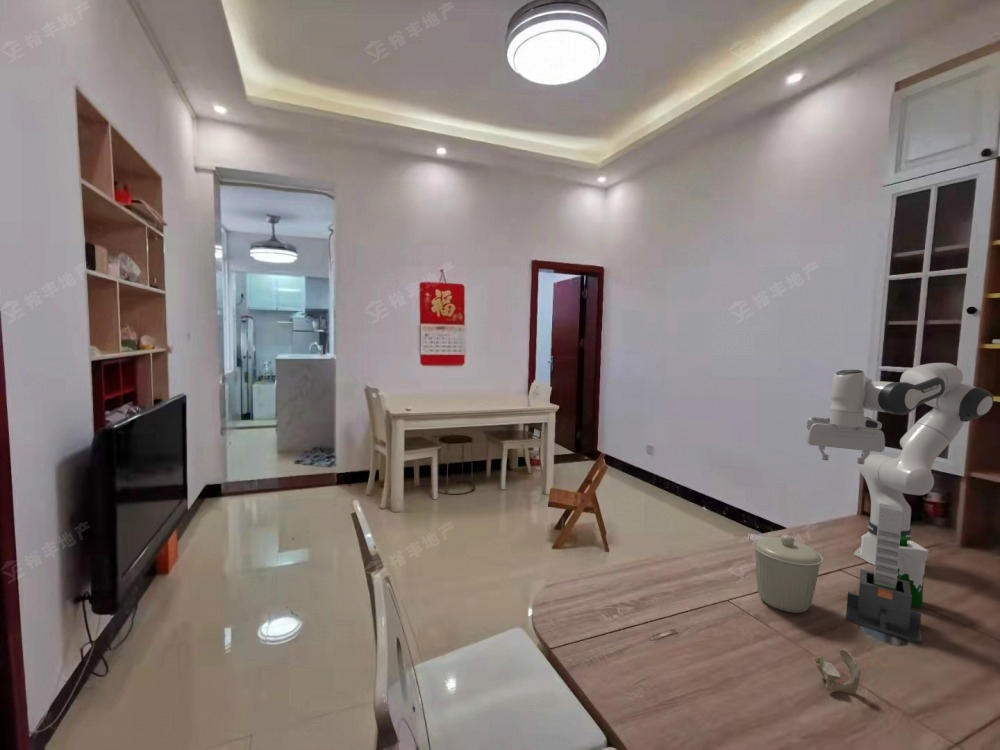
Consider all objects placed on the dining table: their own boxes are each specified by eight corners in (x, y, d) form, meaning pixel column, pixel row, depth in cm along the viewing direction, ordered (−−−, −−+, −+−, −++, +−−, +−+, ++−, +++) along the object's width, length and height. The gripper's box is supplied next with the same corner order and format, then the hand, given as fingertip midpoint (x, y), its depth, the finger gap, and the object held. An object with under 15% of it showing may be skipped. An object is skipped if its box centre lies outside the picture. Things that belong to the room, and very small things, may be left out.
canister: (812, 596, 141) (817, 530, 140) (826, 628, 125) (831, 553, 124) (747, 582, 149) (751, 519, 148) (751, 610, 133) (756, 540, 131)
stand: (847, 597, 141) (850, 563, 141) (917, 618, 131) (920, 581, 131) (845, 620, 129) (848, 582, 128) (921, 644, 119) (925, 604, 118)
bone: (801, 674, 104) (818, 633, 106) (811, 679, 107) (827, 639, 109) (845, 702, 97) (862, 658, 98) (854, 706, 100) (870, 663, 102)
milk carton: (876, 591, 146) (881, 530, 145) (908, 594, 144) (913, 533, 143) (894, 605, 138) (899, 541, 136) (928, 610, 136) (934, 545, 135)
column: (873, 583, 133) (879, 503, 132) (894, 589, 130) (901, 507, 129) (873, 591, 129) (879, 508, 127) (895, 597, 126) (902, 512, 124)
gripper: (809, 417, 148) (806, 459, 149) (888, 424, 139) (885, 468, 140) (805, 415, 154) (803, 455, 154) (882, 421, 145) (878, 464, 145)
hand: (842, 461), depth 147 cm, fingers open, 8 cm apart
